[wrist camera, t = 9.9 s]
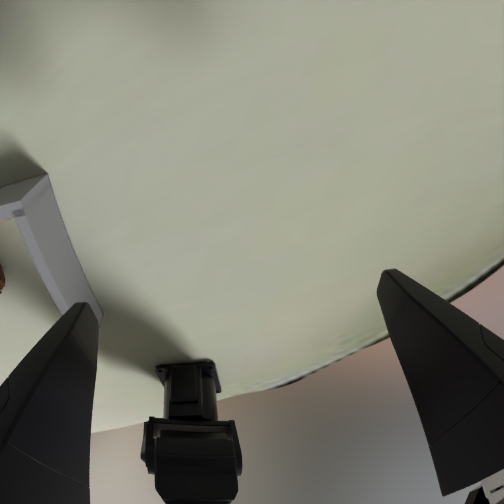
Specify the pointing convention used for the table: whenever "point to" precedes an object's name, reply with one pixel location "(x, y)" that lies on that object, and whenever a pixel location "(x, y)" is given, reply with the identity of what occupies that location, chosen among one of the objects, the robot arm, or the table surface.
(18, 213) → the grey shallow open frame
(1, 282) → the bolt
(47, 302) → the table surface
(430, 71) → the table surface
